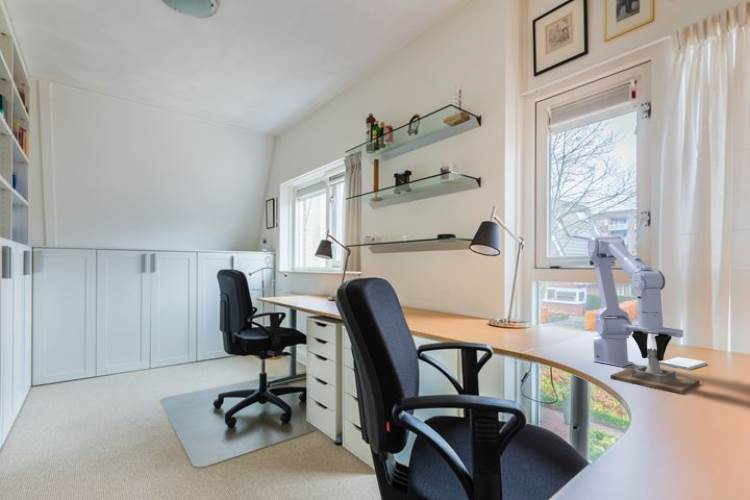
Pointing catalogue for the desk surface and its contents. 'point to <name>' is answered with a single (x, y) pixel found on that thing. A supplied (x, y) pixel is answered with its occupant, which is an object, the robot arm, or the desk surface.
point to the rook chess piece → (653, 362)
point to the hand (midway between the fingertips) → (652, 359)
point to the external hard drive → (683, 363)
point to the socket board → (656, 379)
